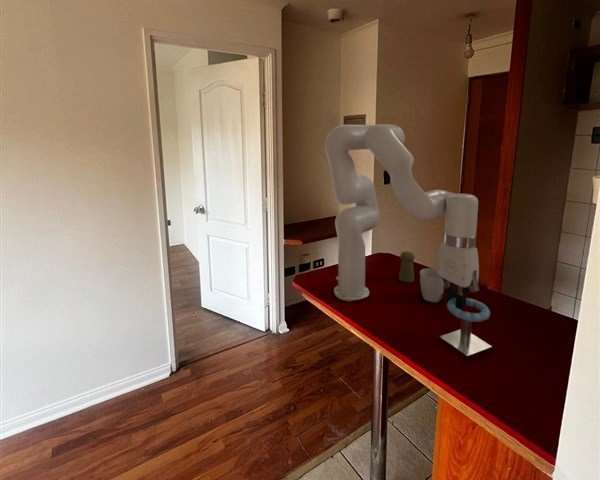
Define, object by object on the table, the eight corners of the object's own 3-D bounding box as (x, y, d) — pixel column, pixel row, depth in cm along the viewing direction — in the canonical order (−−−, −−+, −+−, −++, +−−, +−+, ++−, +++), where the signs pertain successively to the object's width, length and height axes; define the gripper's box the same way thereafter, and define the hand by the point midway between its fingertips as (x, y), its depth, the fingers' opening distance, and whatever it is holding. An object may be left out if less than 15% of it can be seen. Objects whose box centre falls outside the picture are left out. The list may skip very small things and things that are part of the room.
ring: (438, 307, 88) (439, 300, 88) (465, 299, 92) (465, 293, 92) (470, 327, 79) (471, 319, 79) (498, 317, 83) (499, 310, 83)
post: (439, 340, 90) (441, 309, 88) (462, 332, 93) (464, 302, 92) (467, 360, 82) (469, 327, 80) (491, 350, 85) (494, 318, 84)
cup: (446, 307, 107) (448, 279, 105) (420, 305, 108) (422, 277, 107) (441, 295, 114) (442, 269, 113) (417, 294, 116) (418, 267, 114)
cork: (395, 277, 130) (396, 250, 128) (408, 274, 132) (409, 249, 130) (404, 283, 125) (405, 256, 123) (417, 280, 126) (419, 254, 124)
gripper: (426, 234, 92) (423, 294, 95) (476, 252, 77) (471, 322, 80) (446, 230, 95) (443, 289, 98) (497, 247, 80) (492, 315, 83)
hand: (455, 304), depth 89 cm, fingers closed on ring, 2 cm apart
